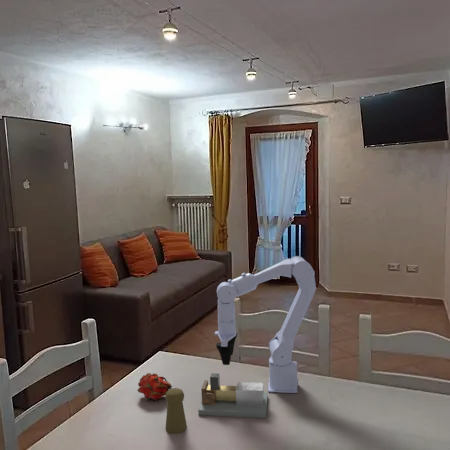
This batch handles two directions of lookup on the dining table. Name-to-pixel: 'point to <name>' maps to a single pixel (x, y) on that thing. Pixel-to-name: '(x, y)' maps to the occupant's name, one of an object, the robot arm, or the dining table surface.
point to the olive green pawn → (175, 411)
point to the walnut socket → (207, 395)
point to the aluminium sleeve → (249, 394)
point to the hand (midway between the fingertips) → (227, 359)
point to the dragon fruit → (153, 386)
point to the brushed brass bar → (221, 389)
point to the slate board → (234, 409)
